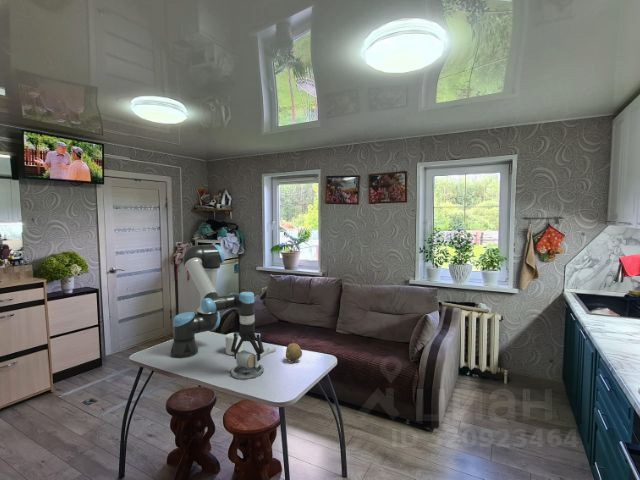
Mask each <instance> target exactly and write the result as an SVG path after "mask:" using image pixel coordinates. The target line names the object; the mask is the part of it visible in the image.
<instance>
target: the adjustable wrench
mask: <svg viewBox="0 0 640 480" xmlns="http://www.w3.org/2000/svg"><path fill="white" fill-rule="evenodd" d="M276 351H277V349H276V347H273V348H272V349H270V347H267V348H265V349H264V352H263V353H262V354H260V360H261V359H262V358H264V357H266V356H267V355H270V354H274V353H276Z"/></svg>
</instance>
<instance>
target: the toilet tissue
mask: <svg viewBox="0 0 640 480" xmlns="http://www.w3.org/2000/svg"><path fill="white" fill-rule="evenodd" d="M234 333H235V332H231V333H227V334H226V335H225V354H227V355H231V356H234V352H231V348H232V344H233V340H234ZM240 339H241V337H240V336H238V339H237V343H236V347H237V345H238V344H239V341H240ZM236 347H235V349H236ZM242 350H245V341H243V343H242V345H241V347H240V349H239V350H238V352H241V351H242Z"/></svg>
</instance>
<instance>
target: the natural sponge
mask: <svg viewBox="0 0 640 480" xmlns="http://www.w3.org/2000/svg"><path fill="white" fill-rule="evenodd" d="M302 357H303V350H302V349H301V346H300V345H299V344H297V343H296V342H293V343H292V342H291V343H289V344H288V345H287V346H286V349H285V359H286V360H288V361H290V362H295V361H297V360H299V359H300V358H302Z"/></svg>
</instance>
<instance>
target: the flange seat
mask: <svg viewBox="0 0 640 480" xmlns="http://www.w3.org/2000/svg"><path fill="white" fill-rule="evenodd" d="M264 371H265V368H264V366H263V364H260V363H259V366H258V367H257V368H256V364H255V366H254V367H253V368H246V367H243V366H240V365H239V366H236V365H234V366H233V367H232V368H231V369H230V374H231V377H233V378H234V379H236V380H251V379H256V378H259V377H260V376H261V375H263V373H264Z"/></svg>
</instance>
